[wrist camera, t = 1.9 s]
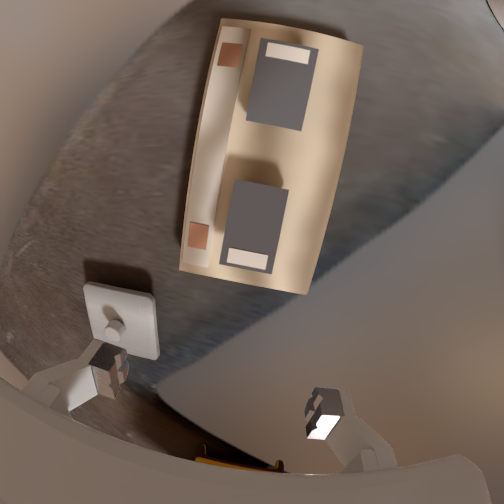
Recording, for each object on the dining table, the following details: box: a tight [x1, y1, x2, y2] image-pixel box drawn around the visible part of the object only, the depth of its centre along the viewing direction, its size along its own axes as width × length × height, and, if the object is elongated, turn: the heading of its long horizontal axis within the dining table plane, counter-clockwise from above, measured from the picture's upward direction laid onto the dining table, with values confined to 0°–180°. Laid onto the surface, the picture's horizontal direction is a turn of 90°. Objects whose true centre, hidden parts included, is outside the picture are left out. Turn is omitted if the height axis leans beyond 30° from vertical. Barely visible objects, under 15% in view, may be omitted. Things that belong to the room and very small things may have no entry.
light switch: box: [83, 281, 160, 360], centre depth 32 cm, size 10×10×5 cm
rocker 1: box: [246, 38, 319, 131], centre depth 19 cm, size 4×7×2 cm, turn 170°
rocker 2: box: [219, 179, 289, 274], centre depth 24 cm, size 4×7×2 cm, turn 170°
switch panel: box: [179, 18, 363, 295], centre depth 25 cm, size 13×25×4 cm, turn 170°
